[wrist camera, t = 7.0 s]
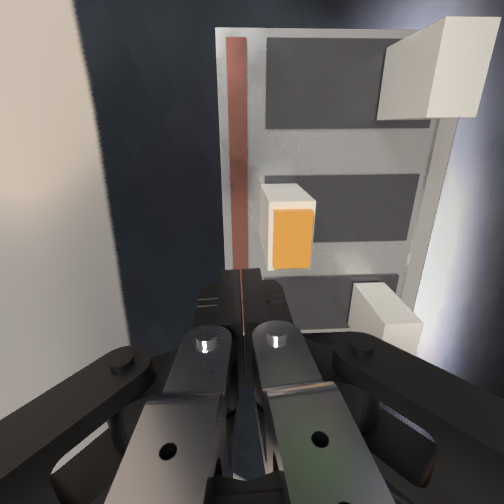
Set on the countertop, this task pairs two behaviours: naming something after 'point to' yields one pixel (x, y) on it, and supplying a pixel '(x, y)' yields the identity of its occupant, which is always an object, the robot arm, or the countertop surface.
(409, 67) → the block
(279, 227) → the block
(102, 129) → the countertop surface
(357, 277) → the panel
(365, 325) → the breaker far
